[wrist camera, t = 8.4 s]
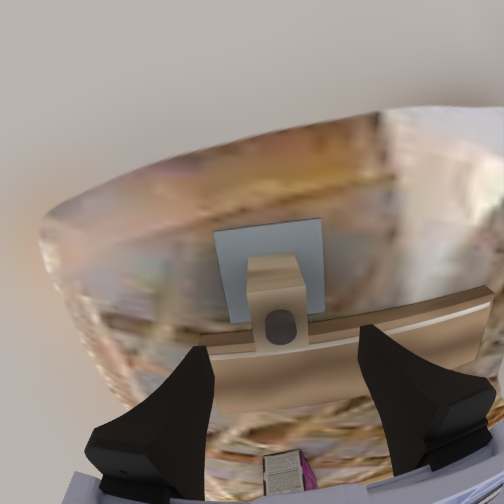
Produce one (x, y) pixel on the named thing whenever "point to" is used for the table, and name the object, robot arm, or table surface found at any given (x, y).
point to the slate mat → (265, 243)
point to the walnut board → (342, 353)
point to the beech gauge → (277, 303)
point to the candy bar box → (287, 473)
